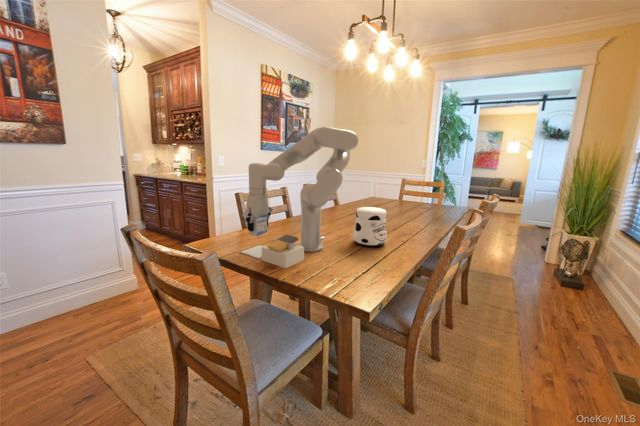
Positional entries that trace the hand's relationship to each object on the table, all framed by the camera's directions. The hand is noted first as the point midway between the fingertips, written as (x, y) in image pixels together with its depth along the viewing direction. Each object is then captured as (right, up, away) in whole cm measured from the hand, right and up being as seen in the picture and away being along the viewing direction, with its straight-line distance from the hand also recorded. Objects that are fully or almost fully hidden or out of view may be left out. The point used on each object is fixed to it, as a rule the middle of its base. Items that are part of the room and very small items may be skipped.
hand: (258, 228), depth 129 cm
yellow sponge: (+12, -7, -7) cm, 16 cm away
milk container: (+54, -9, +19) cm, 58 cm away
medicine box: (0, -2, +1) cm, 3 cm away
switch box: (+12, -13, -6) cm, 19 cm away
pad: (0, -11, +3) cm, 12 cm away
